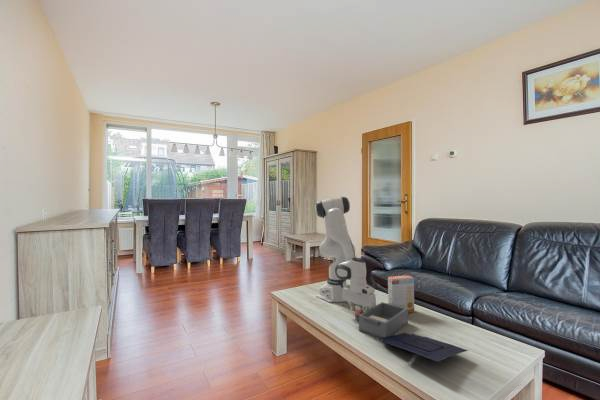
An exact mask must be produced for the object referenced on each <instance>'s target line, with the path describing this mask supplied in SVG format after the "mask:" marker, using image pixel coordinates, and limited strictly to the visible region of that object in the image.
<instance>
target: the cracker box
mask: <svg viewBox="0 0 600 400" xmlns="http://www.w3.org/2000/svg"><path fill="white" fill-rule="evenodd" d="M414 279H415V277H413V276H410V275H395V276H387V297H388V298H387V299H388V303H390V304H394V305H398V306H402V307H403V308H407V311H408V313H409V314H411V313H415V283H414V282H415V281H414Z"/></svg>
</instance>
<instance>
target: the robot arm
mask: <svg viewBox="0 0 600 400" xmlns="http://www.w3.org/2000/svg"><path fill="white" fill-rule="evenodd" d="M350 208H351V202H350V200H349V198H348V197H346V196H340V197H331V198H327V199H324V200H318V201H316V203H315V205H314V213H315V214H316V215H317V217H319V218H322V219H324V227H325V237H324V240H322V242H320V243H319V247H318V248H319V252H320V254H321V255H323V256H326V257H328V258H329V257H330V258H331V257H332V258H335V261H334V262H332V263H330V265H329V267H328V277H327V278H325V280H326V283H324V284H322V285H321V286H320V287H319V292H318V293H316V294H315V297H316V298H318V299H321V300H323V301H325V302H328V303H344V302H347V303H348V305H349V308H350V310H351V311H355V304H358V305H362V306H364V311H363V313H364V312H365V311H367V310H369V309H371V308H374V307H375V306H376V305H377V298H376V294H375V292H376V291H375V290H376V289H375V288H374V287H373V286H371V285H369V284H368V283H367V279H366V277H367V266H366V262H365V260H364V259H363V258H360V257H357V256H356V246H355V245H354V244H353V243H352V242H353V241H352V240H351V237H350V235H349V231H348V227H347V223H346V218H345V214H347V213H349V212H350ZM347 280H350V282H349V283H350V284H347ZM353 304H354V305H353Z"/></svg>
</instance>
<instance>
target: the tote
mask: <svg viewBox="0 0 600 400" xmlns="http://www.w3.org/2000/svg"><path fill="white" fill-rule="evenodd" d="M371 315H373V316H377V317H380V318H384V319H387V320H388V321H386V322H383V321H379V320H376V319H373V318H369V317H370V316H371ZM408 316H409V315H408V311H407V308H403V307H402V306H398V305H394V304H390V303H389V302H388V303H386V302H380V303H378V304H376V306H375V307H374V308H369V309H368V310H367V311H365V312H364V313H362V314H360V315H359V321H358V331H360V332H362V333H364V334H368V335H370V336H373V337H377V338H378V339H379V338H384V337H388V336H393V335H396V333H398V332H399V331H400V330H401V329H403V328H404V327H406V325H407V324H408Z"/></svg>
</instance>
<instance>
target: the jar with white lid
mask: <svg viewBox="0 0 600 400" xmlns="http://www.w3.org/2000/svg"><path fill="white" fill-rule="evenodd" d="M364 310H365V306H362V305H358V304H355V303H354V320H355V321H357V322H359V315H360V314H362V313H363V311H364Z"/></svg>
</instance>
